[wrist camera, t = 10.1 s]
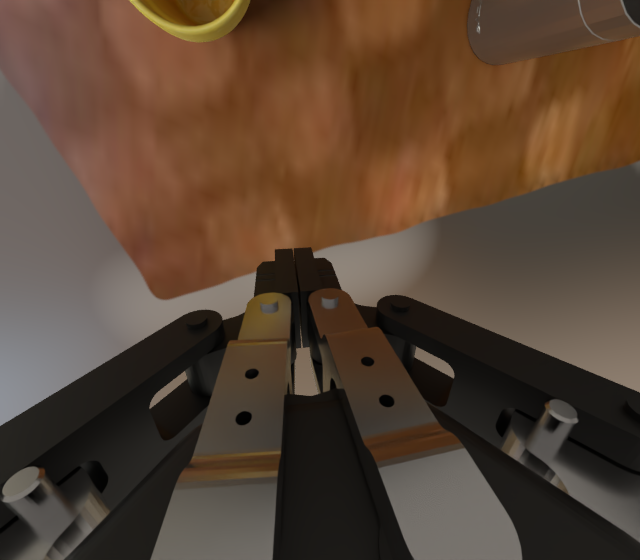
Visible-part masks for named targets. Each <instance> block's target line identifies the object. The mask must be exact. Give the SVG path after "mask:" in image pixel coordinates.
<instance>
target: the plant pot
mask: <svg viewBox="0 0 640 560" xmlns="http://www.w3.org/2000/svg"><path fill="white" fill-rule="evenodd" d="M130 2H131V3H132V4H133V5H134V6H135V7H136V8H137V9H138V10H139V11H140V12H141V13H142V14H143V15H145V16H146V17H147V18H148V19H149V20H151V21H152V22H153V23H155V24H156V25H157V26H159V27H160V28H162V29H163V30H165V31H166V32H168V33H170V34H172V35H174V36H176V37H178V38H181V39H184V40H187V41H192V42H208V41H213V40H216V39H219V38H221V37H223V36H225V35H226V34H228V33H229V32H231V31H232V30H233V29H234V28H235V27H236V26H237V25H238V23H239V22H240V21H241V19H242V18H243V16H244V14H245V13H246V11H247V8H248V6H249V3H250V0H130Z"/></svg>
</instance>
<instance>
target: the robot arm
mask: <svg viewBox="0 0 640 560" xmlns="http://www.w3.org/2000/svg"><path fill="white" fill-rule="evenodd" d="M467 28H468V38H469V42H470V45H471V47H472V49H473V51H474V53H475V54H476V56H477V57H478V58H479V59H480V60H482V61H483V62H485V63H487V64H491V65H503V64H507V63H512V62H517V61H522V60H528V59H532V58H537V57H542V56H547V55H552V54H556V53H561V52H566V51H571V50H576V49H580V48H585V47H590V46H595V45H600V44H604V43H609V42H614V41H619V40H623V39H627V38H632V37H637V36H640V0H472V1H471V5H470V9H469V13H468V23H467ZM300 328H301V336H302V343H303V348H305V347H310V363H311V368H312V372H313V376H314V380H315V384H316V388H317V392H318V395H314V396H303V395H295V359H296V355H297V353H296V348H301V337H300ZM416 346H417V347H419V348H420V349H423V350H424V351H426V352H428V353H430V354H432V355H434V356H436V357H438V358H440V359H442V360H444V361H445V362H447V363H448V364H449V365H450V366H451V367H452V369H453V371H454V375H455V377H454V379H453V378H451V377H450V376H448V375H446V374H444V373H442V372H440V371H438V370H437V369H435V368H433V367H431V366H429V365H427V364H426V363H424V362H422V361H420V360H418V359H416V358H415V357H414V355H415V350H416ZM184 371H185V372H186V376H187V380H186V381H184V382H183V383H182V384H181V385H179V386H178V387H177V388H176V389H174V390H173V391H172V392H171V393H169V394H168V395H167V396H166V397H164V398H163V399H162V400H161V401H160V402H158V403H157V404H156V405H154V406H153V407H152V408H151V409H149V406H150V402H151V400H152V398H153V397H154V395H155V394H156V393H157V392H158V391H159V390H160V389H162V388H163V387H164V386H166V385H167V384H168V383H170V382H171V381H172V380H173V379H175V378H176V377H177V376H178V375H180V374H181V373H183V372H184ZM0 560H640V393H639V392H637V391H635V390H632V389H630V388H627V387H625V386H623V385H620V384H618V383H615V382H613V381H610V380H608V379H606V378H603V377H601V376H598V375H596V374H593V373H591V372H589V371H586V370H584V369H581V368H579V367H577V366H574V365H572V364H569V363H567V362H564V361H562V360H559V359H557V358H555V357H552V356H550V355H547V354H545V353H543V352H540V351H538V350H535V349H533V348H530V347H528V346H525V345H523V344H521V343H518V342H516V341H513V340H511V339H509V338H506V337H504V336H501V335H499V334H496V333H494V332H492V331H489V330H487V329H484V328H482V327H479V326H477V325H475V324H472V323H470V322H467V321H465V320H463V319H460V318H458V317H455V316H453V315H451V314H448V313H445V312H443V311H441V310H438V309H436V308H434V307H431V306H429V305H426V304H424V303H421V302H419V301H417V300H414V299H411V298H409V297H406V296H401V295H390V296H385V297H383V298H381V299H380V300H379V301H378V303H377V307H369V306H361V305H357V304H355V303H354V302H353V300H352V299H351V297H350V295H349V294H347V293H346V292H345V291H342V289H341V287H340V284H339V282H338V279H337V276H336V274H335V271H334V269H333V266H332V263H331V262H329V261H328V260H327V259H325V258H314V256H313V252H312V249H311V247H309V248H294V257H293V250H292V249H276V250H275V261H268V262H262V263H261V264H260V265H259V266H258V267H257V273H256V282H255V292H254V298H252V299H251V300H250V301H249V302H248V304H247V308H246V311H245V313H243V314H241V315H239V316H236V317H233V318H229V319H226V320H222V316H221V315H220V314H219V313H218V312H216V311H212V310H198V311H193V312H190V313H188V314H185V315H183V316H182V317H180V318H178V319H177V320H175V321H173V322H172V323H170V324H168V325H167V326H165V327H163V328H162V329H160V330H158V331H157V332H155V333H153V334H152V335H150V336H149V337H147V338H145V339H144V340H142V341H140V342H139V343H137V344H135V345H134V346H132V347H130V348H129V349H127V350H125V351H124V352H122V353H120V354H119V355H117V356H115V357H114V358H112V359H111V360H109V361H107V362H105V363H104V364H102V365H101V366H99V367H97V368H96V369H94V370H92V371H91V372H89V373H87V374H86V375H84V376H83V377H81V378H79V379H77V380H76V381H74V382H72V383H71V384H69V385H68V386H66V387H64V388H62V389H61V390H59V391H58V392H56V393H54V394H53V395H51V396H49V397H48V398H46V399H44V400H43V401H41V402H39V403H38V404H36V405H35V406H33V407H31V408H29V409H28V410H26V411H25V412H23V413H21V414H20V415H18V416H16V417H15V418H13V419H11V420H10V421H8V422H6V423H5V424H3V425H1V426H0Z"/></svg>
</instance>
